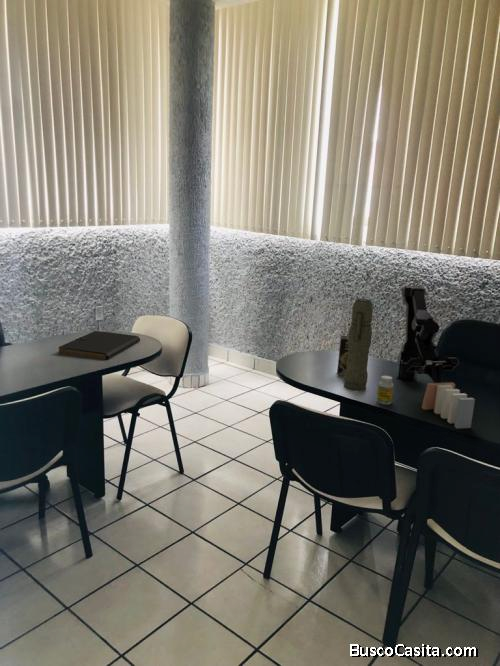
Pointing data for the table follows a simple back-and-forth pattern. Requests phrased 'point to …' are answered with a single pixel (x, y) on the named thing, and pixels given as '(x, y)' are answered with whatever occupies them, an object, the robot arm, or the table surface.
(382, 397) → the supplement bottle
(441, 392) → the domino
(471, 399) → the domino
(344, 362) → the coffee box
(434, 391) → the domino
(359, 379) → the thermos
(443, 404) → the domino
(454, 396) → the domino
